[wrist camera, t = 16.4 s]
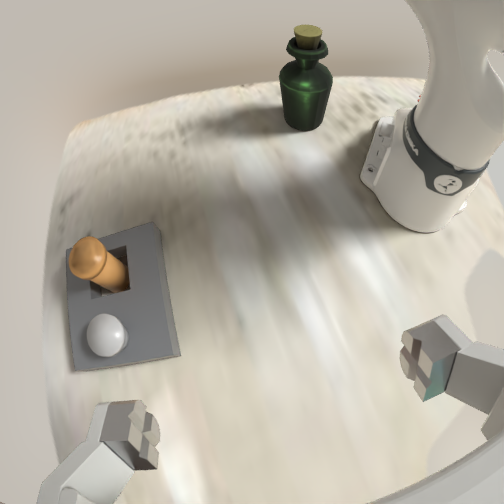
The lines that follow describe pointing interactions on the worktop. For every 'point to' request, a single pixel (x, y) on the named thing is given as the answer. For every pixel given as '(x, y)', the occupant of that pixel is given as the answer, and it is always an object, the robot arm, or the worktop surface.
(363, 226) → the worktop surface
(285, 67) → the potion bottle
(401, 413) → the worktop surface
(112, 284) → the mushroom head peg
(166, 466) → the worktop surface
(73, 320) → the gray peg hole board
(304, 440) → the worktop surface
